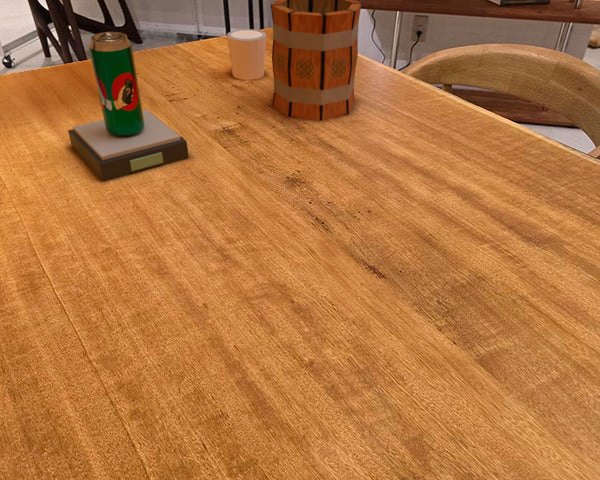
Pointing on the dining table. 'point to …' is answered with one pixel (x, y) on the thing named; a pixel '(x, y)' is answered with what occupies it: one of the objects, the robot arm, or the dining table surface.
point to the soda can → (117, 83)
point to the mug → (314, 57)
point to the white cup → (247, 53)
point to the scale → (127, 147)
